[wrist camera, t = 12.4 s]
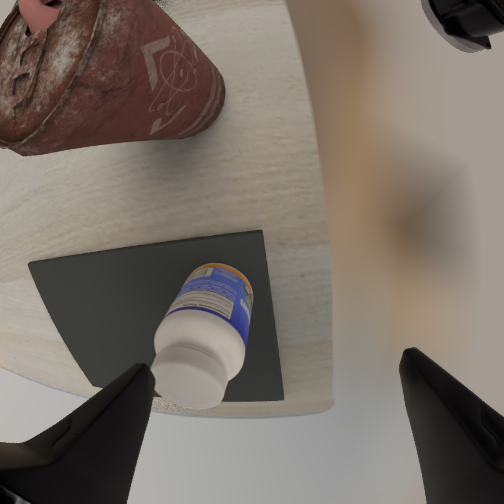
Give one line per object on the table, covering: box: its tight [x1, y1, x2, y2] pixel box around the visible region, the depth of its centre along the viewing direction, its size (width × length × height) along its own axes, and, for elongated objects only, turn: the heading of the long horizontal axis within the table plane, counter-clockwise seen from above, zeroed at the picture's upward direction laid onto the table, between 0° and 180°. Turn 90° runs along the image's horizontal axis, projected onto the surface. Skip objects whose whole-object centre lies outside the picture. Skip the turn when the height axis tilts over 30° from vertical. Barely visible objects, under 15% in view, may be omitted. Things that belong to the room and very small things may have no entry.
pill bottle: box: [151, 263, 253, 410], centre depth 16 cm, size 5×5×10 cm
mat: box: [28, 230, 284, 402], centre depth 24 cm, size 26×19×1 cm
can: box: [0, 0, 225, 156], centre depth 9 cm, size 6×6×14 cm
